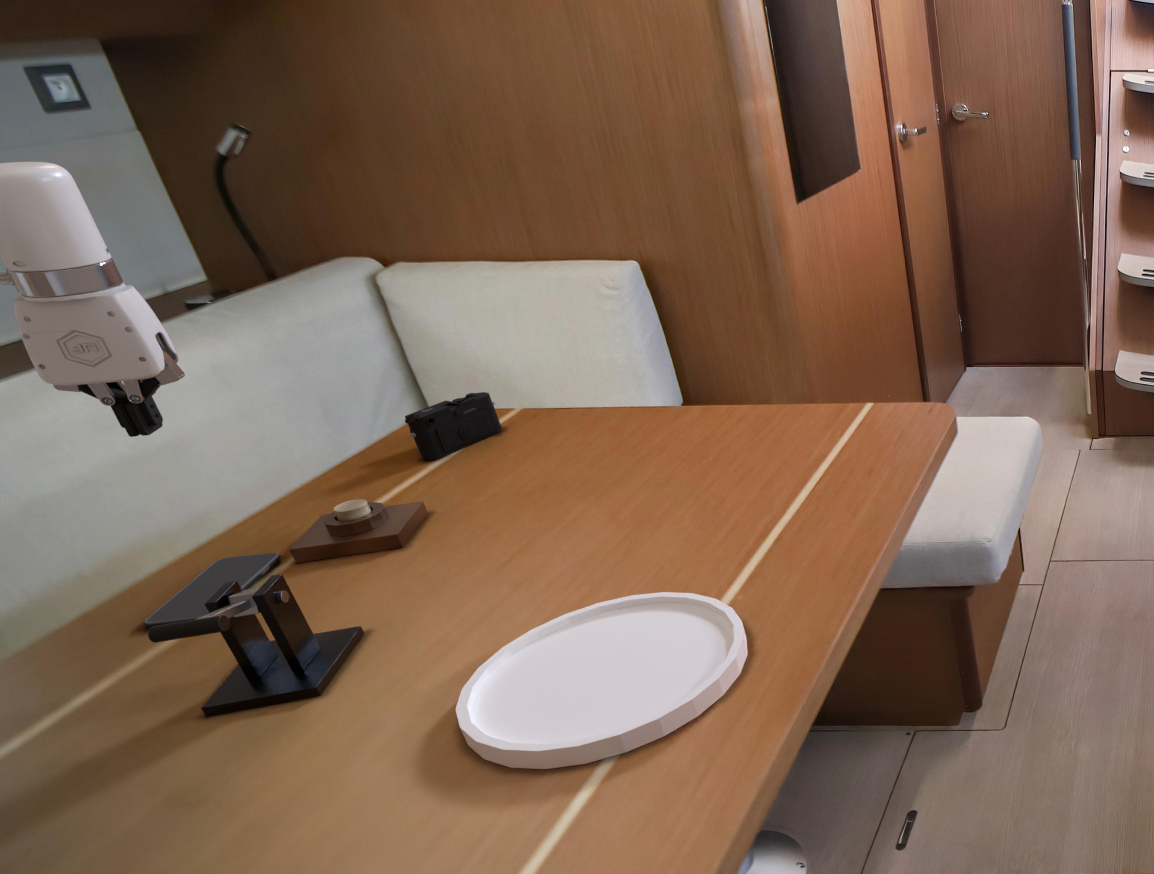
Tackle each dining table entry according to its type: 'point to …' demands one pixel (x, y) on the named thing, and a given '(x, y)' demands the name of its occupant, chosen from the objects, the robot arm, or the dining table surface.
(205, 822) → the dining table surface
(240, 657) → the bracket
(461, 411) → the camera
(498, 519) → the dining table surface
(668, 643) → the plate
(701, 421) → the dining table surface
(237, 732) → the dining table surface
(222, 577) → the smartphone
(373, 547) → the button box
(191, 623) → the lever
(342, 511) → the button
